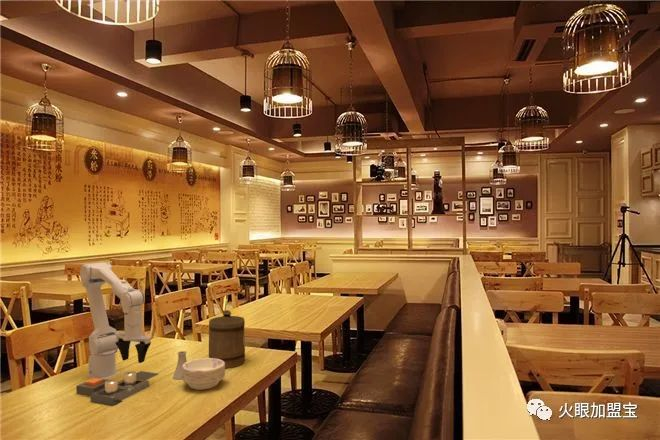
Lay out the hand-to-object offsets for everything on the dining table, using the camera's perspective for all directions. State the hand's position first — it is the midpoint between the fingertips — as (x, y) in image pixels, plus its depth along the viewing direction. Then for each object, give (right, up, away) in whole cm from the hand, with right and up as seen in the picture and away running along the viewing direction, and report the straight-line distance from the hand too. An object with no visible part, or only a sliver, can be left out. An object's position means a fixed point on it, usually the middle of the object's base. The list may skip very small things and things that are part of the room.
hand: (133, 360), depth 165 cm
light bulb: (-2, -9, -12) cm, 15 cm away
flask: (+16, -9, +7) cm, 19 cm away
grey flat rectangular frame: (-1, -9, -8) cm, 12 cm away
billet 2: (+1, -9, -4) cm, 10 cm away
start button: (-11, -8, -5) cm, 15 cm away
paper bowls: (+26, -9, 0) cm, 27 cm away
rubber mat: (0, -9, +7) cm, 12 cm away
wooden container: (+29, -9, +24) cm, 39 cm away
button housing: (-11, -9, -5) cm, 16 cm away
